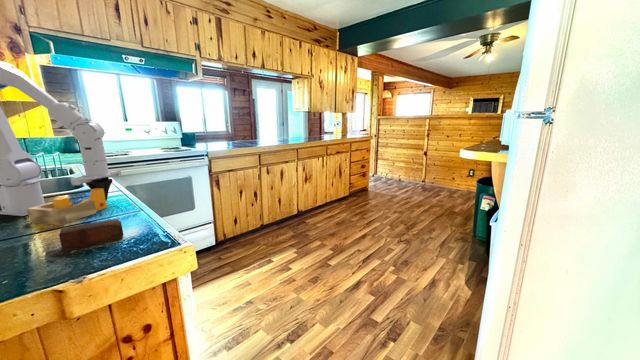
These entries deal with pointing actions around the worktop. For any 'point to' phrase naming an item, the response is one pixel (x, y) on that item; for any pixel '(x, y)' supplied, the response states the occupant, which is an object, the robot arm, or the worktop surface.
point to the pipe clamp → (95, 195)
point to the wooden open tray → (60, 213)
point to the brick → (90, 234)
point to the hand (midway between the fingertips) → (103, 200)
